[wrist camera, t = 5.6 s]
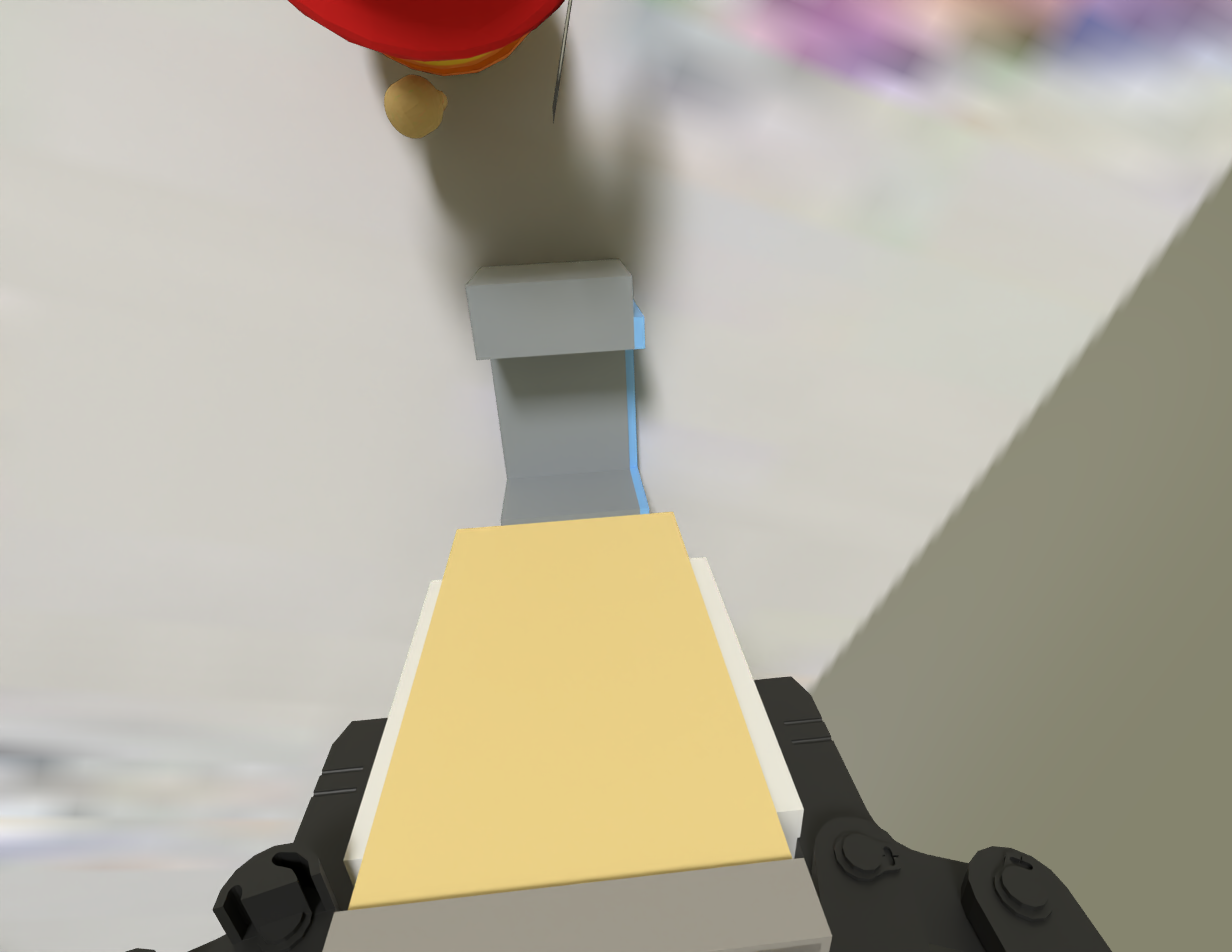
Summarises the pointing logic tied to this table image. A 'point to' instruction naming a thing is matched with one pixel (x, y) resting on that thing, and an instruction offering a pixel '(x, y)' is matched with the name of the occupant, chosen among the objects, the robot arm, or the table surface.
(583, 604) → the tan yellow block
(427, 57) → the toy
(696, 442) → the table surface
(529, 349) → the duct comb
